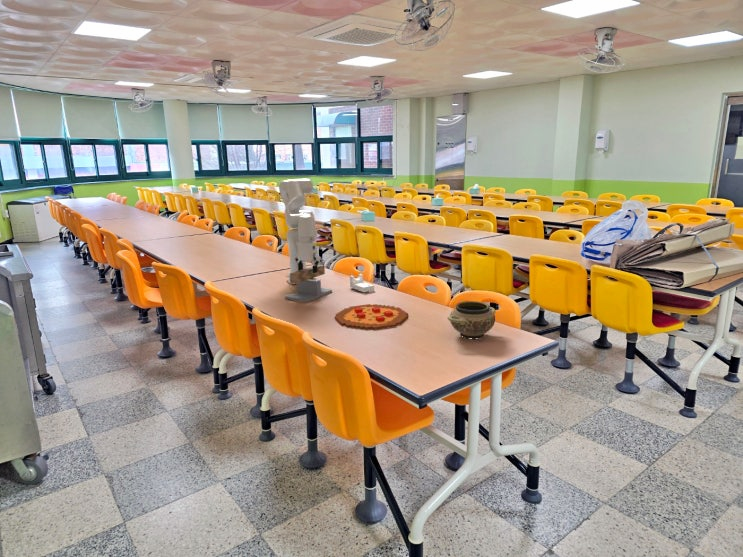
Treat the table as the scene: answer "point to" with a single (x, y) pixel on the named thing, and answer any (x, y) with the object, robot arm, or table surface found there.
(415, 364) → the table surface
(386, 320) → the pizza
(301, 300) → the balance stand
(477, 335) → the ceramic bowl
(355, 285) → the bracket
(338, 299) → the table surface
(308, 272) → the brown wooden bar
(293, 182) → the robot arm
